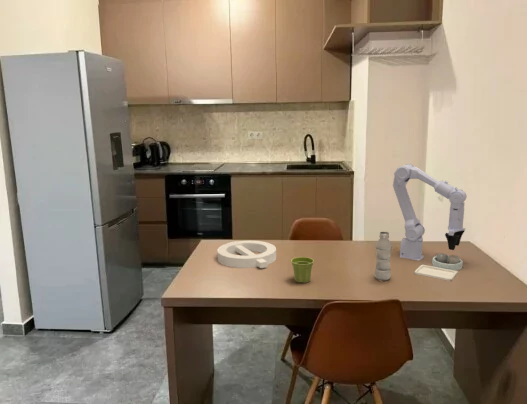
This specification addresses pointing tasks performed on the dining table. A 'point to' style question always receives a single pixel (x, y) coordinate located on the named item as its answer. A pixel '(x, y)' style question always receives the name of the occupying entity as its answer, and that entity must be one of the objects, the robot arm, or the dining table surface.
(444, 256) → the slate capsule
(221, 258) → the white circle with bar
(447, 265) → the bowl
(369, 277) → the dining table surface
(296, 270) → the plant pot
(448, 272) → the parts tray
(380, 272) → the plastic bottle
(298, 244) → the dining table surface
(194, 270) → the dining table surface
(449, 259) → the grey rounded cylinder
